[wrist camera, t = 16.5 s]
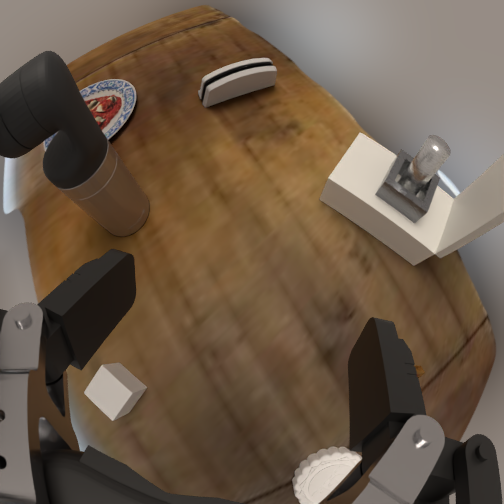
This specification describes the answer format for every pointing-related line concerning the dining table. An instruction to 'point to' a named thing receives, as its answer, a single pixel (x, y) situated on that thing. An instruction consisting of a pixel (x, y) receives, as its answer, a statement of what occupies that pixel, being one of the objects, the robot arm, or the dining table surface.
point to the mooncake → (322, 473)
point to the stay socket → (400, 195)
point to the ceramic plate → (108, 105)
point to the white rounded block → (237, 80)
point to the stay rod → (425, 164)
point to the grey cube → (114, 390)
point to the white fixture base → (441, 208)
